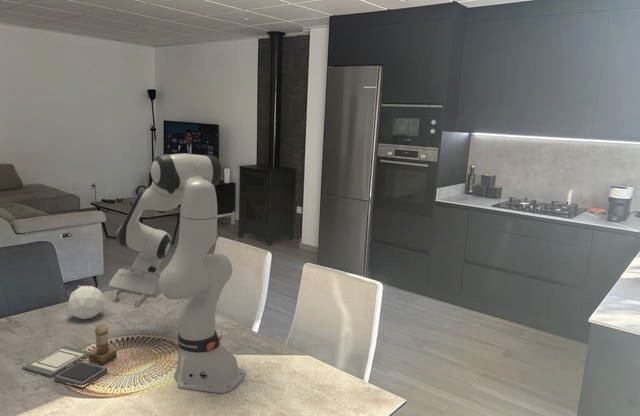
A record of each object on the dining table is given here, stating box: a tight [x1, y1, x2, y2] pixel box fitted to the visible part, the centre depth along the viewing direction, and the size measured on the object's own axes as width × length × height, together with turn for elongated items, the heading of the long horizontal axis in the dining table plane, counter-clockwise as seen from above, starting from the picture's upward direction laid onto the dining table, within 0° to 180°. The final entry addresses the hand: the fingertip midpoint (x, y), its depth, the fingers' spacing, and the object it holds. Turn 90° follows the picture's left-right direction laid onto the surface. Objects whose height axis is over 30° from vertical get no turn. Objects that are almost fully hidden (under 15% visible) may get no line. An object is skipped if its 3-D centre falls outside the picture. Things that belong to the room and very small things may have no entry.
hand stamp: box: [88, 323, 117, 366], centre depth 157 cm, size 6×6×13 cm
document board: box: [22, 345, 91, 378], centre depth 155 cm, size 12×16×1 cm
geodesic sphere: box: [67, 284, 106, 320], centre depth 189 cm, size 14×14×14 cm
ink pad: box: [53, 360, 108, 386], centre depth 147 cm, size 11×10×2 cm
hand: (125, 304), depth 166 cm, fingers open, 8 cm apart
